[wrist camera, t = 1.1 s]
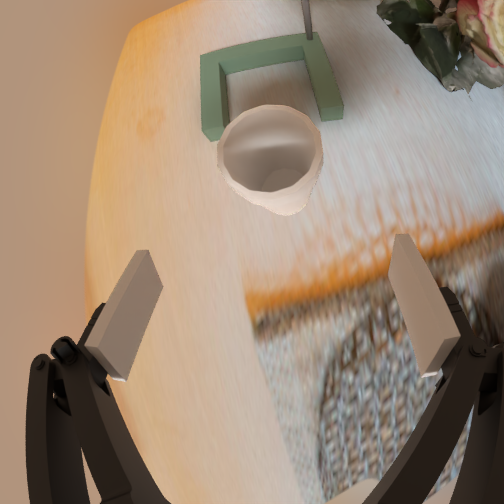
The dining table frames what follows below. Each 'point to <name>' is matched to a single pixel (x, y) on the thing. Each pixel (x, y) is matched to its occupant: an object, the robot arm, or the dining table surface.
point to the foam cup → (271, 157)
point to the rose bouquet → (452, 38)
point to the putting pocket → (264, 55)
